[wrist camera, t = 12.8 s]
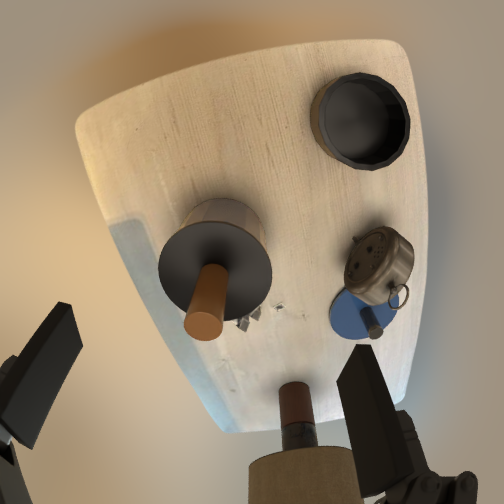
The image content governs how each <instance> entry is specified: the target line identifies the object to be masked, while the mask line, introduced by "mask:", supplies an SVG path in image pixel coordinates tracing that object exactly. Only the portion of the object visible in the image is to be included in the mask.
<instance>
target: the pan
mask: <svg viewBox="0 0 504 504" xmlns="http://www.w3.org/2000/svg"><path fill="white" fill-rule="evenodd" d="M310 123H311V128H312V131H313V134H314V137H315V139H316V141H317V142H318V144H319V145H320V146H321V148H322V149H323V150H324V151H325V152H326V153H327V154H328V155H329V156H331V157H333V158H335V159H337V160H339V161H341V162H343V163H344V164H346V165H348V166H350V167H352V168H354V169H359V170H369V171H374V170H377V169H380V168H383V167H386V166H389V165H390V164H391V163H392V162H394V161H395V160H396V159H397V158H398V157H399V156H400V155H401V154H402V153H403V151H404V148H405V146H406V144H407V142H408V140H409V135H410V116H409V113H408V109H407V106H406V102H405V101H404V99H403V98H402V97H401V95H400V94H399V93H398V91H397V90H396V89H395V87H394V86H393V85H391V84H390V83H388V82H387V81H385V80H384V79H382V78H381V77H379V76H376V75H371V74H366V73H361V72H359V73H354V74H350V75H346V76H342V77H340V78H337V79H335V80H333V81H331V82H329V83H328V84H327V85H326V86H324V87H323V88H322V89H321V90H320V91H319V92H318V94H317V95H316V97H315V99H314V101H313V103H312V106H311V112H310Z"/></svg>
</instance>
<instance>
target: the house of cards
mask: <svg viewBox="0 0 504 504" xmlns="http://www.w3.org/2000/svg"><path fill="white" fill-rule="evenodd" d="M260 305H261V304H260ZM284 308H286V307H285V306H284V304H283V303H280V304H278V305H276V306H274V309H275V310H276V311H277V312H278V311H280V310H282V309H284ZM260 315H261V306H258V307H257V308H256V309H255V310H254V311H252V312H251V313H249V314H247V315H245V316H243V317H241V318H238V319H234V320H232V321H233V322H234V323H235V324H236V326H237V327H238V328H239V329H241V330H243V331H244V332H246V331H247V328H248V325H249V323H250V322H249V316H250V317H252V318H253V319H255V320H256V321H259V318H260Z"/></svg>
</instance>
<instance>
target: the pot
mask: <svg viewBox="0 0 504 504" xmlns="http://www.w3.org/2000/svg"><path fill="white" fill-rule="evenodd" d="M209 220H214V221H223V222H228V223H231V224H234V225H237V226H239V227H241V228H243V229H245V230H246V231H248V232H249V233H251V234H252V235H253V236H254V237H256V238H257V240H258V241H259V242H260V243H261V244H262V245H263V247H264V248H265V250H266V252H267V248H266V237H265V231H264V229H263V226H262V223H261V221H260V219H259V217H258V216H257V215H256V214H255V212H254V211H253V210H252V209H250V208H249V207H248V206H246V205H245V204H243V203H241V202H239V201H236V200H233V199H227V198H216V199H211V200H208V201H205V202H203V203H201V204H199V205H197V206H196V207H195V208H194V209H193V210H192V211H191V212H190V213H189V214H188V215H187V217H186V218H185V219H184V221H183V223H182V224H181V226H180V227H179V229H178V231H179V230H180V229H181V228H183V227H185V226H187V225H190V224H193V223H195V222H200V221H209Z"/></svg>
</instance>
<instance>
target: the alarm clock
mask: <svg viewBox="0 0 504 504" xmlns="http://www.w3.org/2000/svg"><path fill="white" fill-rule="evenodd" d="M352 239H353V241H354V242H355V243H356V246H355V248H354V249H353V251H352V253H351V254H350V256H349V258H348V261H347V263H346V266H345V271H344V283H345V286H346V288H347V290H348V291H349V292H350V293H351V294H352V295H354V296H356V297H357V298H359V299H360V300H362V301H363V302H365V303H366V304H368V305H372V306H376V305H381V304H383V303H386V302H387V301H388V305H389V307H390V309H392V310H399V309H401V308H402V307H403V306H404V305H405V304H406V302H407V300H408V297H409V288H408V287H407V286H406V285H405V284H406V282H407V281H408V279H409V277H410V275H411V272H412V269H413V266H414V249H413V247H412V245H411V244H410V242H409V241H407V240H406V239H405V238H404V237H402V236H401V235H400V234H399V233H398V232H397V231H396V230H394V229H393V228H391V227H385V226H383V227H379V228H376V229H374V230H372V231H371V232H369V233H368V234H367V235H365V236H364V237H363V238H362V239H361V240H358V238H357V237H355V236H354V237H353V238H352ZM403 287H405V288H406V291H407V295H406V299H405V301H404V302H403V304H402V305H401V306H399V307H397V308H394V307H392V306H391V304H390V300H391V299H392V298H393V297H395V296H396V295H397V294H398V293H399V292H400V291H401V289H402V288H403Z"/></svg>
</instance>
